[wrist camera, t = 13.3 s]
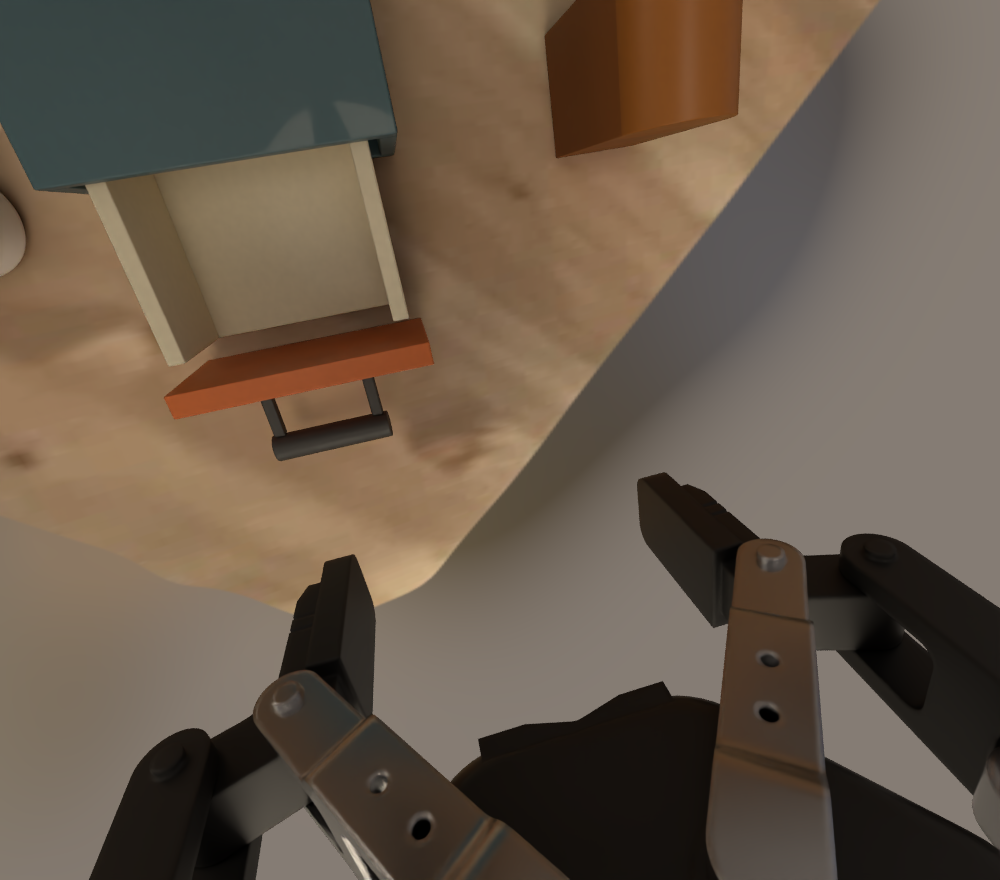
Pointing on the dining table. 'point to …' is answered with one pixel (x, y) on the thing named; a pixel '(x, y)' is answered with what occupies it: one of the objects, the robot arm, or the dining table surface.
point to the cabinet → (185, 84)
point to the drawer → (267, 281)
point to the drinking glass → (10, 237)
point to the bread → (641, 70)
